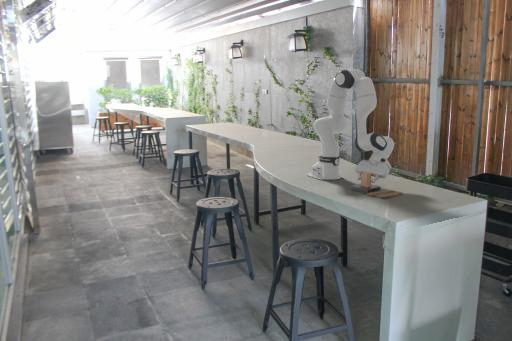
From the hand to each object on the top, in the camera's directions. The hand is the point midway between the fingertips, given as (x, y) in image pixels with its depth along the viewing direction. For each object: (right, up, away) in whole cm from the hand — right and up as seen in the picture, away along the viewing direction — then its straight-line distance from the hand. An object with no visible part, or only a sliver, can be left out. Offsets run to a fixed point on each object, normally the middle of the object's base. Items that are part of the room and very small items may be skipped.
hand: (365, 180), depth 260 cm
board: (+9, -7, -8) cm, 14 cm away
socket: (0, -5, +1) cm, 6 cm away
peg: (0, -5, +1) cm, 6 cm away
